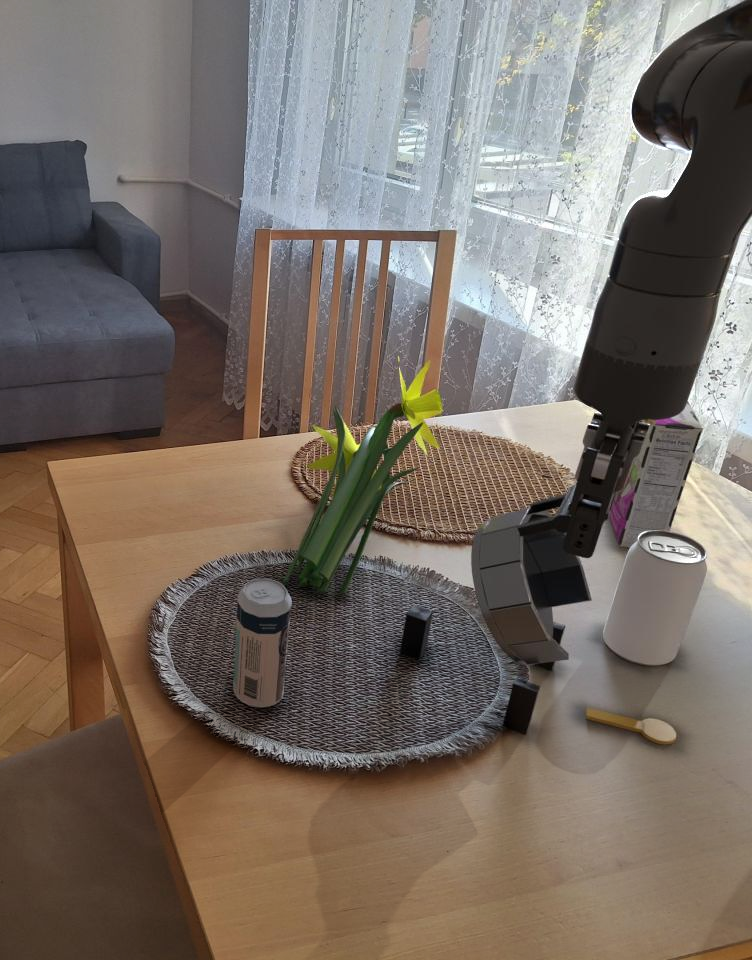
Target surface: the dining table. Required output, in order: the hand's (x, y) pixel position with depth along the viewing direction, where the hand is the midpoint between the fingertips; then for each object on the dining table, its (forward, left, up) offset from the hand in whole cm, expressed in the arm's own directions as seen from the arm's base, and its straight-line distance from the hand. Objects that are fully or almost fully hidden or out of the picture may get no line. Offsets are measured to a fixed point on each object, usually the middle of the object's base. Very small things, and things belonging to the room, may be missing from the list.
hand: (585, 533), depth 71 cm
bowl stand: (+6, 0, -18) cm, 19 cm away
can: (-6, -13, -18) cm, 23 cm away
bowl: (+5, 0, -8) cm, 9 cm away
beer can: (+22, +14, -18) cm, 32 cm away
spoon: (-7, -1, -18) cm, 19 cm away
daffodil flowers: (+25, -18, -18) cm, 36 cm away
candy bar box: (-2, -37, -18) cm, 41 cm away
